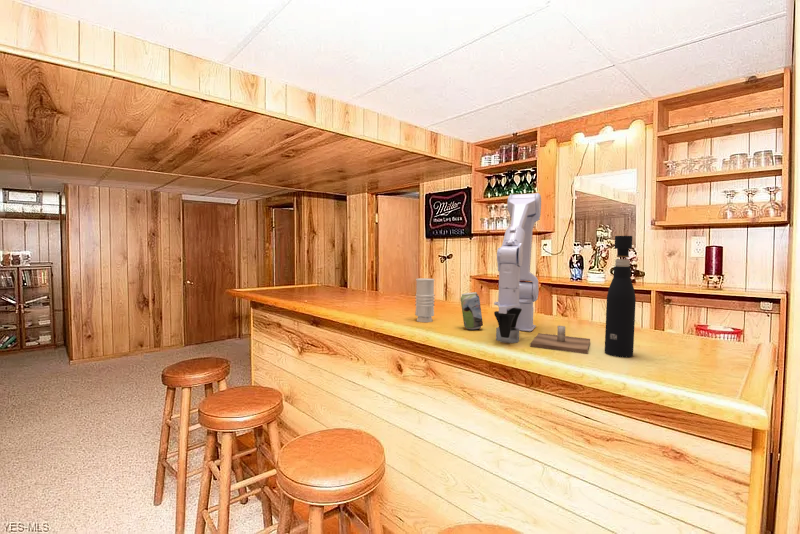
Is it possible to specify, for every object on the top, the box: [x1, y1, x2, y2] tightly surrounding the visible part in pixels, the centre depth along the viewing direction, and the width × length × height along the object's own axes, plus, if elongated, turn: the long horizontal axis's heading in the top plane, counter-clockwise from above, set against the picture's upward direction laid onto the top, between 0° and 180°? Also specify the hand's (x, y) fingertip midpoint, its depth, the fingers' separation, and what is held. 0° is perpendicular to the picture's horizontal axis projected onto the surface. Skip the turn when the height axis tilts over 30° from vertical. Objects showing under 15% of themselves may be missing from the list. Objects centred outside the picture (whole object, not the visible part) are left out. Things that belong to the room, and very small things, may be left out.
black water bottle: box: [604, 235, 637, 358], centre depth 100 cm, size 6×6×30 cm
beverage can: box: [460, 291, 484, 330], centre depth 129 cm, size 6×7×12 cm
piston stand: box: [529, 325, 591, 355], centre depth 110 cm, size 14×14×5 cm
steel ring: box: [495, 326, 520, 344], centre depth 114 cm, size 6×6×4 cm
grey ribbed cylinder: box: [414, 277, 436, 323], centre depth 142 cm, size 7×7×15 cm
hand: (507, 334), depth 114 cm, fingers closed on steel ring, 6 cm apart
